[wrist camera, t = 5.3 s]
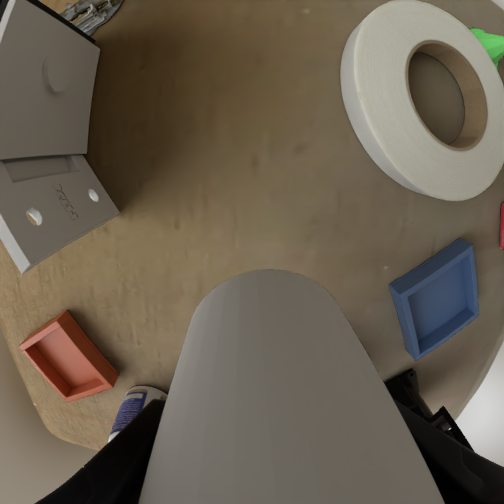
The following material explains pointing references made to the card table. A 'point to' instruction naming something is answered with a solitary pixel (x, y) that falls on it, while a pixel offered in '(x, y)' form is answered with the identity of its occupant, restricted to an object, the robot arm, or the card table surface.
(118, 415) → the pill bottle
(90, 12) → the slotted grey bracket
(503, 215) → the ink box
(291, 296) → the beverage can
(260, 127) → the card table surface
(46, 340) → the terracotta tray
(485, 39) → the game piece
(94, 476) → the robot arm
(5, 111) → the hinge
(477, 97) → the tape roll
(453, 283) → the blue square tray
